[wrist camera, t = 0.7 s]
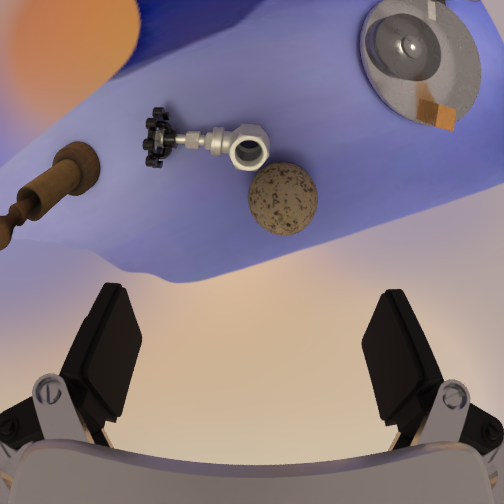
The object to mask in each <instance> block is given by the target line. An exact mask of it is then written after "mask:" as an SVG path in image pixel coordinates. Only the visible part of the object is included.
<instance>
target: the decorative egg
mask: <svg viewBox="0 0 504 504" xmlns="http://www.w3.org/2000/svg"><path fill="white" fill-rule="evenodd" d="M248 201H249V207H250V210H251V213H252V215H253V217H254V219H255V220H256V221H257V223H258V224H259V225H260V226H262V227H263V228H264V229H266V230H267V231H269V232H271V233H273V234H276V235H284V236H287V235H293V234H296V233H298V232H300V231H301V230H303V229H304V228H305V227H306V226H307V225H308V224H309V223H310V222H311V220H312V219H313V217H314V215H315V212H316V209H317V203H318V195H317V189H316V186H315V184H314V182H313V180H312V178H311V177H310V176H309V174H308V173H307V172H306V171H305V170H303V169H302V168H300V167H299V166H297V165H294V164H292V163H287V162H279V163H273V164H270V165H268V166H266V167H264V168H263V169H261V170H260V171H259V172H258V173H257V174H256V176H255V177H254V178H253V180H252V182H251V185H250V188H249V194H248Z"/></svg>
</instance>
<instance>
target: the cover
mask: <svg viewBox="0 0 504 504" xmlns="http://www.w3.org/2000/svg"><path fill="white" fill-rule="evenodd" d="M365 47H366V51H367V54H368V56H369V58H370V60H371V62H372V63H373V65H374V66H375V67H376V68H377V69H378V70H379V71H381V72H382V73H383V74H385V75H387V76H389V77H392V78H396V79H402V80H409V81H424V80H427V79H429V78H431V77H432V76H433V75H434V74H435V73H436V72H437V70H438V68H439V66H440V62H441V48H440V44H439V41H438V39H437V37H436V35H435V33H434V32H433V30H432V29H431V28H430V27H429V26H428V25H427V24H426V23H425V22H424V21H422V20H421V19H419V18H418V17H416V16H413V15H410V14H405V13H399V14H394V15H391V16H388V17H385V18H382V19H379V20H377V21H375V22H374V23H372V24H371V25H370V27H369V28H368V30H367V32H366V36H365Z"/></svg>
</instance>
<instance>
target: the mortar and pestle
mask: <svg viewBox="0 0 504 504" xmlns="http://www.w3.org/2000/svg"><path fill="white" fill-rule="evenodd" d="M99 173H100V164H99V161H98V157H97V155H96V153H95V152H94V150H93V149H92V148H91V147H90V146H88V145H87V144H85V143H82V142H74V143H71V144H69V145H67V146H66V147H64V148H62V149H61V150H60V151H58V153H57V154H56V155H55V157H54V160H53V164H52V167H51V168H50V169H48V170H47V171H45V172H44V173H42V174H41V175H39V176H38V177H37V178H35V179H34V180H32V181H31V182H29V183H28V184H26V185H25V186H23V187H22V188H21V189H20V190H19V191H18V194H17V203H15V204H13V205H11V206H10V208H9V213H8V214H7V215H6V216H0V250H3V249H4V248H6V247H7V245H8V244H9V243H10V241H11V238H12V234H13V229H14V227H15V226H16V225H17V226H21V225H23V224H24V222H25V221H26V220H27V219H29V220H31V221H37V220H39V219H40V218H41V217H43V216H44V215H45V214H46V213H47V212H48V211H49V210H50V209H51V208H52V207H53V206H54V205H55V204H56V203H58V202H59V201H60V200H61V199H62V198H63V197H65V196H66V195H67V194H69V195H72V196H78V195H81V194H83V193H85V192H86V191H87V190H89V189H90V188H91V187H92V186H93V185H94V184H95V183H96V181H97V179H98V177H99Z"/></svg>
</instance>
